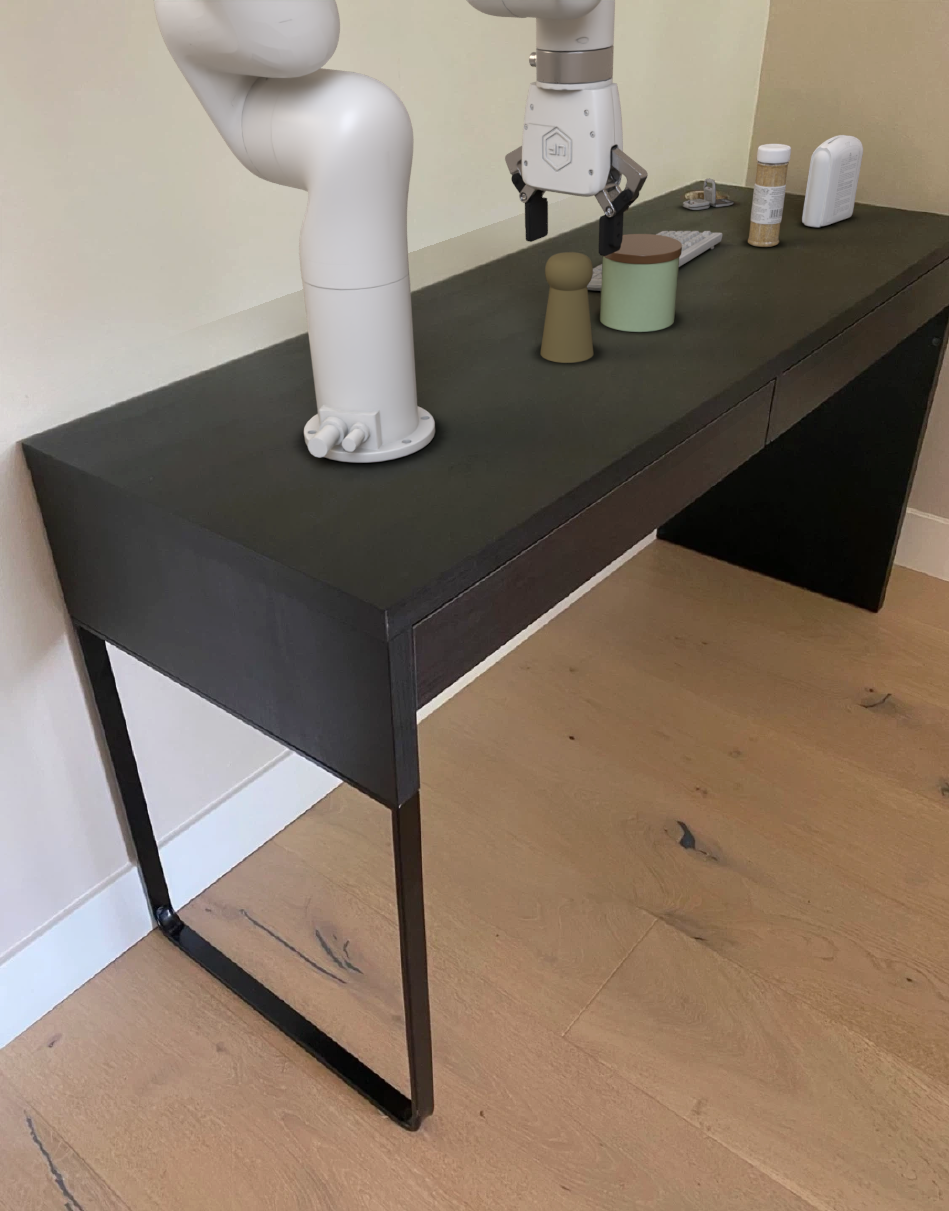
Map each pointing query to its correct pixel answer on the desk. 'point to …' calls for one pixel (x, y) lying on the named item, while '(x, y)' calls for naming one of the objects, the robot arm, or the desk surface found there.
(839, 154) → the white plastic container
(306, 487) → the desk surface
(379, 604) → the desk surface
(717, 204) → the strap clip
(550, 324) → the brown tapered tall piece
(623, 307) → the canister
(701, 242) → the keyboard
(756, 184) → the sprinkles bottle
